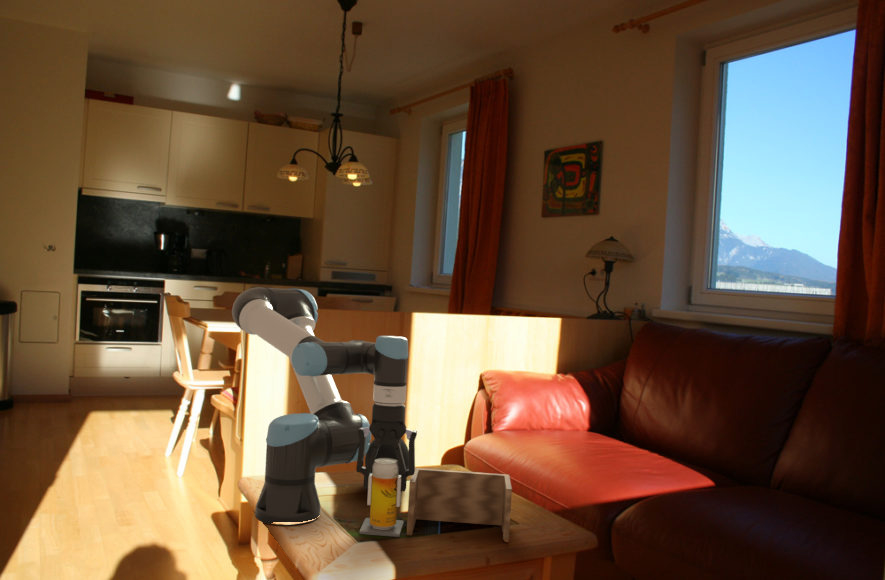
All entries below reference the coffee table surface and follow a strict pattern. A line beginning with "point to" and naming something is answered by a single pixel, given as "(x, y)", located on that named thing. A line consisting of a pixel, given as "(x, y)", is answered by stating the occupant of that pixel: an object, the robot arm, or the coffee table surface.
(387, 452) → the decorative egg
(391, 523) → the beer can
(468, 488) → the wooden monitor riser
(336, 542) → the coffee table surface
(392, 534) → the slate coaster
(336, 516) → the coffee table surface
